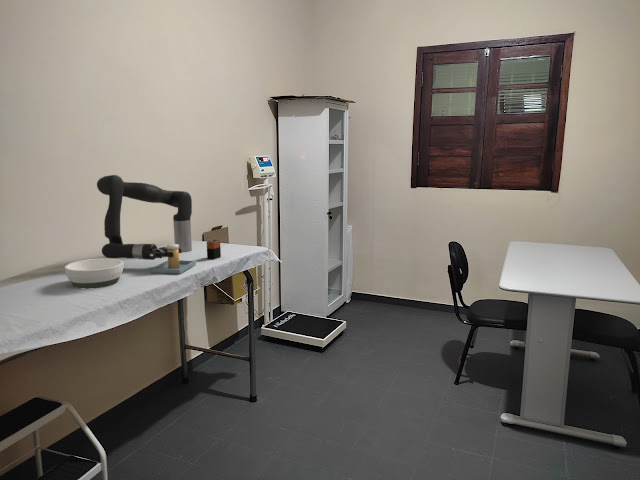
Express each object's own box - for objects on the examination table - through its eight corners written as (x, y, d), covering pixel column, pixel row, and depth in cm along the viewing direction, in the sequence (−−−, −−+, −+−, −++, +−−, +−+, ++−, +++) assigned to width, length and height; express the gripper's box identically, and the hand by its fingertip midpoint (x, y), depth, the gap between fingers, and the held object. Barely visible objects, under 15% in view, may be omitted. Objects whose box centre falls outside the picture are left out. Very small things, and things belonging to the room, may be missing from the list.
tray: (168, 264, 236) (168, 259, 236) (195, 265, 234) (195, 260, 234) (151, 273, 219) (150, 268, 219) (180, 274, 217) (179, 269, 217)
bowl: (102, 292, 189) (101, 272, 188) (53, 289, 194) (51, 268, 192) (135, 278, 211) (134, 259, 210) (90, 275, 216) (88, 257, 214)
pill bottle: (171, 266, 230) (169, 243, 228) (181, 266, 229) (180, 244, 227) (166, 269, 224) (164, 246, 222) (176, 269, 224) (175, 246, 222)
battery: (221, 257, 253) (220, 238, 251) (213, 259, 247) (213, 240, 245) (214, 256, 255) (213, 237, 253) (206, 259, 248) (206, 240, 246)
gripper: (136, 246, 220) (170, 247, 217) (151, 241, 233) (183, 242, 231) (137, 262, 221) (170, 264, 219) (152, 256, 235) (184, 257, 233)
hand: (177, 252), depth 225 cm, fingers open, 8 cm apart
